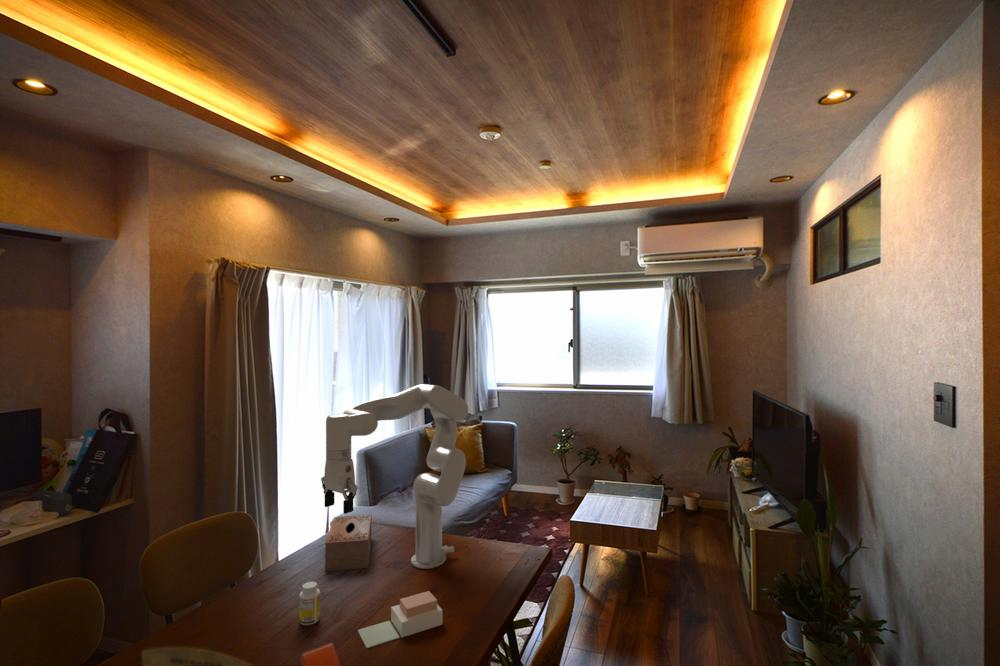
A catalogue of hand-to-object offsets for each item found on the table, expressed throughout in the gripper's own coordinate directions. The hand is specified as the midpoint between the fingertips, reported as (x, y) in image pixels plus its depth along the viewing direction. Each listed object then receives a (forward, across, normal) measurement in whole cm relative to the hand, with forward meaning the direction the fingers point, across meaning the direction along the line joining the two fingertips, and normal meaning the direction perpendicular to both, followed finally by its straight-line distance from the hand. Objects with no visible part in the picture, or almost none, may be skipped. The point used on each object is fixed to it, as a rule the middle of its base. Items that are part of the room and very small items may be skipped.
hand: (338, 509), depth 153 cm
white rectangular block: (+28, -29, -5) cm, 40 cm away
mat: (+28, -25, +5) cm, 37 cm away
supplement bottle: (+28, -4, +12) cm, 31 cm away
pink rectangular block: (+24, -29, -6) cm, 38 cm away
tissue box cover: (+28, +24, -22) cm, 43 cm away
